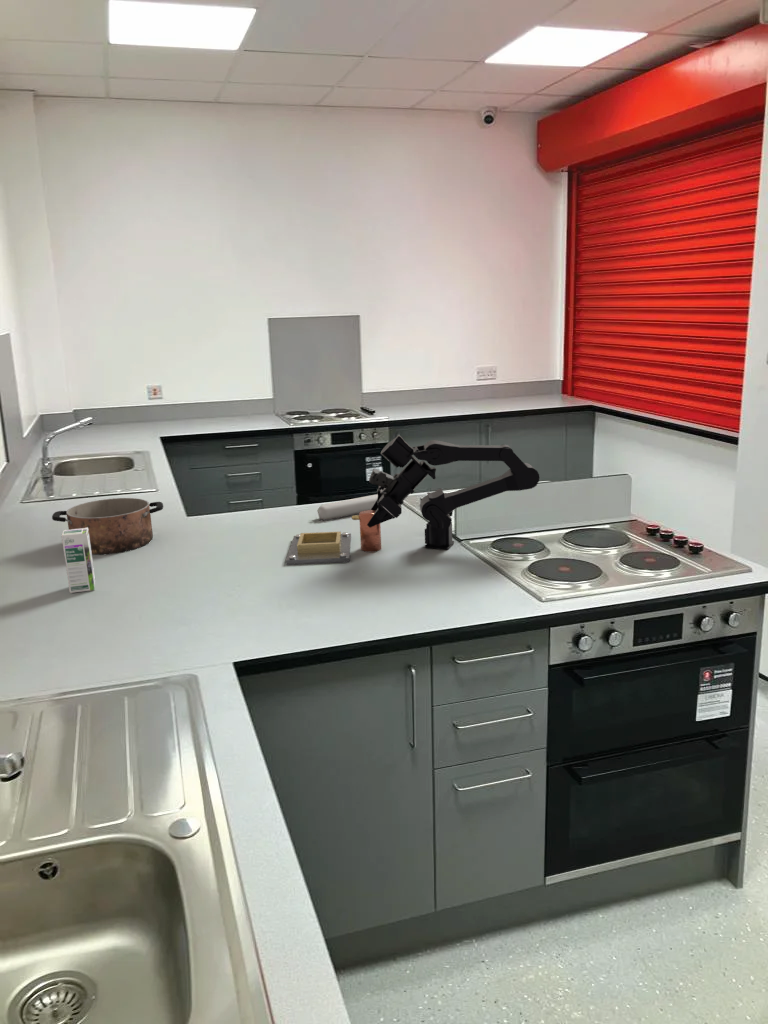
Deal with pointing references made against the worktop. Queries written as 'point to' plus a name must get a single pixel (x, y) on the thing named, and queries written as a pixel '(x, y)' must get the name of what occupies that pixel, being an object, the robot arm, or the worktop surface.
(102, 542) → the cooking pot
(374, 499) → the tube
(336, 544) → the gray mounting plate
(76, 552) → the syrup box
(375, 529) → the copper cylinder
